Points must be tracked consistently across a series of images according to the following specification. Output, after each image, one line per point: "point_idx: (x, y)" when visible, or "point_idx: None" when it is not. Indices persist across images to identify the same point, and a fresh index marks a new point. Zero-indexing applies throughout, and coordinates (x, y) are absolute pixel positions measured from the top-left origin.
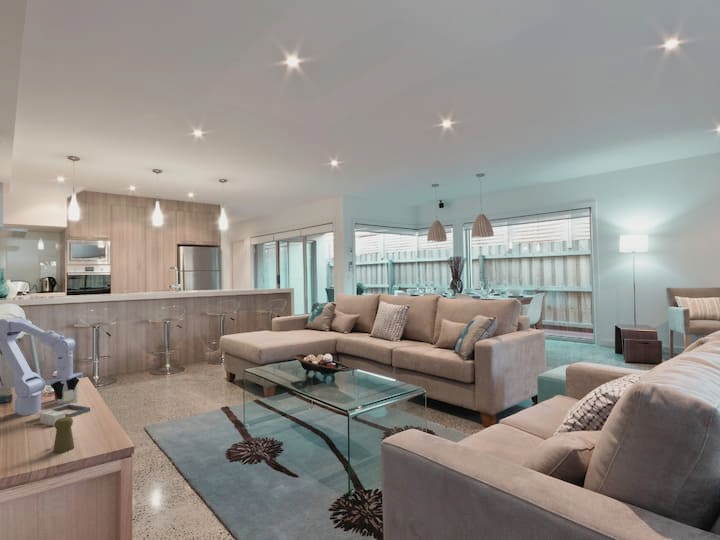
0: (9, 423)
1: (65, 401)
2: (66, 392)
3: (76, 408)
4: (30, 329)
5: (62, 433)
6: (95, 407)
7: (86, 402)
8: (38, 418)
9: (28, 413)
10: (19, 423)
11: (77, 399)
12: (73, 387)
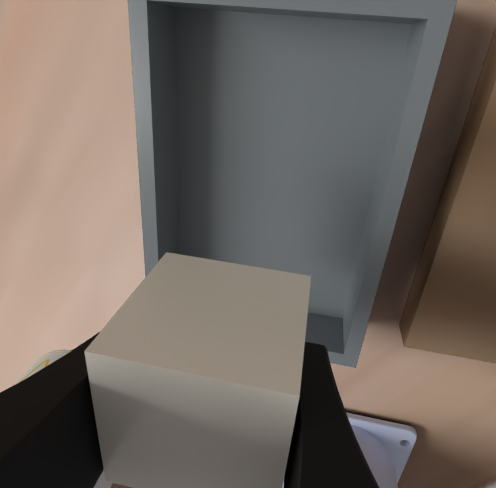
0: (491, 472)
1: None
2: (244, 370)
3: (166, 207)
4: None
5: None
6: (22, 142)
7: (5, 315)
8: (467, 336)
9: (385, 468)
10: (491, 419)
11: (29, 375)
12: (35, 407)
